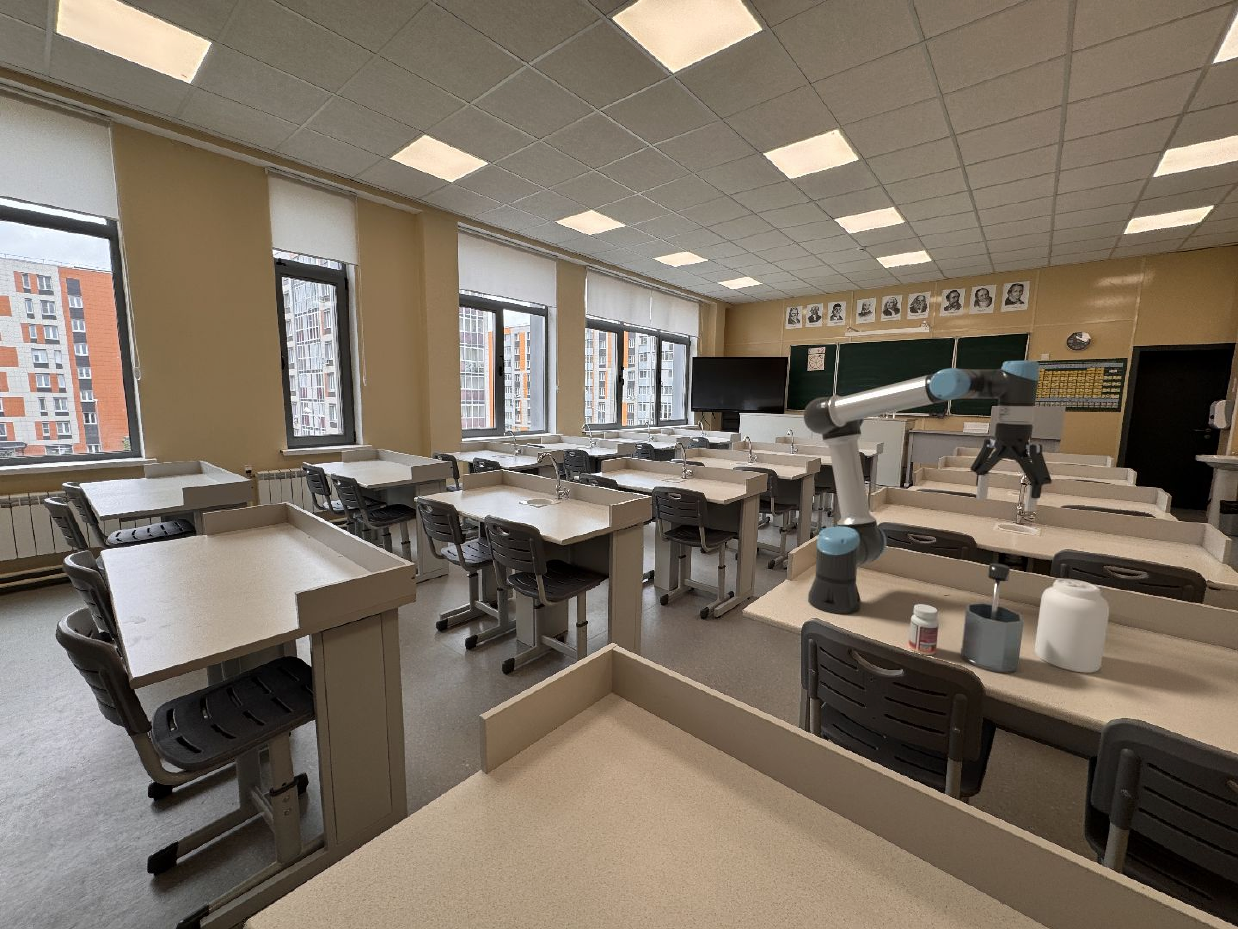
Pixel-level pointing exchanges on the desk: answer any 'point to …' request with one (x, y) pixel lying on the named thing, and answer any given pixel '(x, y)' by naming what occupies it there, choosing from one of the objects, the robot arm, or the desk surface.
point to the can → (1072, 626)
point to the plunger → (997, 583)
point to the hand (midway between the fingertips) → (1004, 504)
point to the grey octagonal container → (992, 638)
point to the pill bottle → (924, 629)
